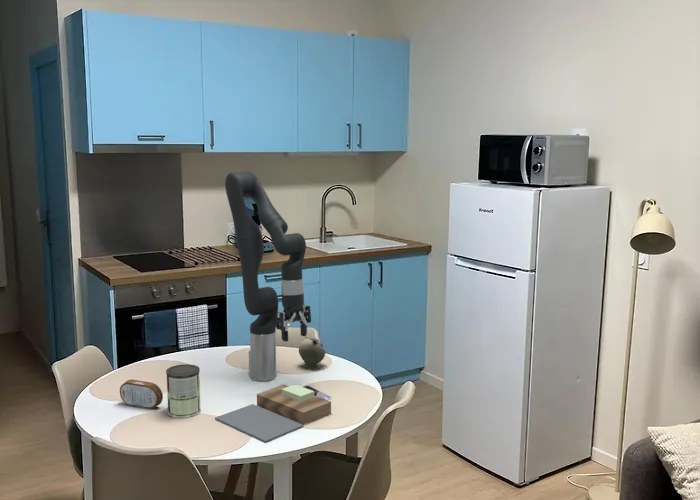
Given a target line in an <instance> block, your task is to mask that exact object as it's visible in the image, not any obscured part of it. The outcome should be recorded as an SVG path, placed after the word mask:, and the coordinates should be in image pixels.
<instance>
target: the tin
mask: <svg viewBox="0 0 700 500" xmlns="http://www.w3.org/2000/svg"><path fill="white" fill-rule="evenodd" d="M119 396H120V398H121V400H122V402H123V403H125V404H126V405H127V404H128V406H130V405H132V406H131V407H136V406H138V407H137V408H142V407H143V408H142V409H147V408H150V409H149V410H152V409H154V408H157V407H158V406H160V405H161V404H162V402H163V399H164V398H163V397H164V395H163V391H162V390H161V388H160V387H159V385H157V383H154V382H149V381H144V380H139V379H128V380H126V381H125V382H124V383H122V384H121V385H120V387H119Z"/></svg>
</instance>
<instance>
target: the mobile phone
mask: <svg viewBox="0 0 700 500" xmlns="http://www.w3.org/2000/svg"><path fill="white" fill-rule="evenodd" d="M302 387H304V388H307V389H309V390H312V391H314V396H317V397H320V398H322V399H325V400H328V401H331V400H332V399H333V397H332V396H330V395H328V394H326V393H324V392H322V391H320V390H318V389H316V388H314V387H312V386H310V385H303V386H302Z"/></svg>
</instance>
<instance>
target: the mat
mask: <svg viewBox="0 0 700 500" xmlns="http://www.w3.org/2000/svg"><path fill="white" fill-rule="evenodd" d="M214 420H215V421H218V422H220V423H222V424H224V425H226V426H228V427H230V428H233V429H235V430H236V431H239V432H241V433H243V434H246V435H247V436H250V437H252V438H255V439H257V440H258V441H261V442H263V443H265V444H267V443H269V442H272V441H274V440H276V439H278V438H280V437H284V436H286V435H288V434H291V433H293V432H295V431H298V430H300V429H303V428H304V425H302V424H300V423H298V422H295V421H293V420H290V419H288V418H285V417H283V416H281V415H278V414H276V413H273V412H271V411H268V410H266V409H264V408H261V407H259V406H257V404H256V405H255V404H253V403H251V404H250V405H249V404H248V405H246V406H243V407H239V408H238V409H235V410H232V411H229V412H226V413H224V414H222V415H219V416H216V417H214Z"/></svg>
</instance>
